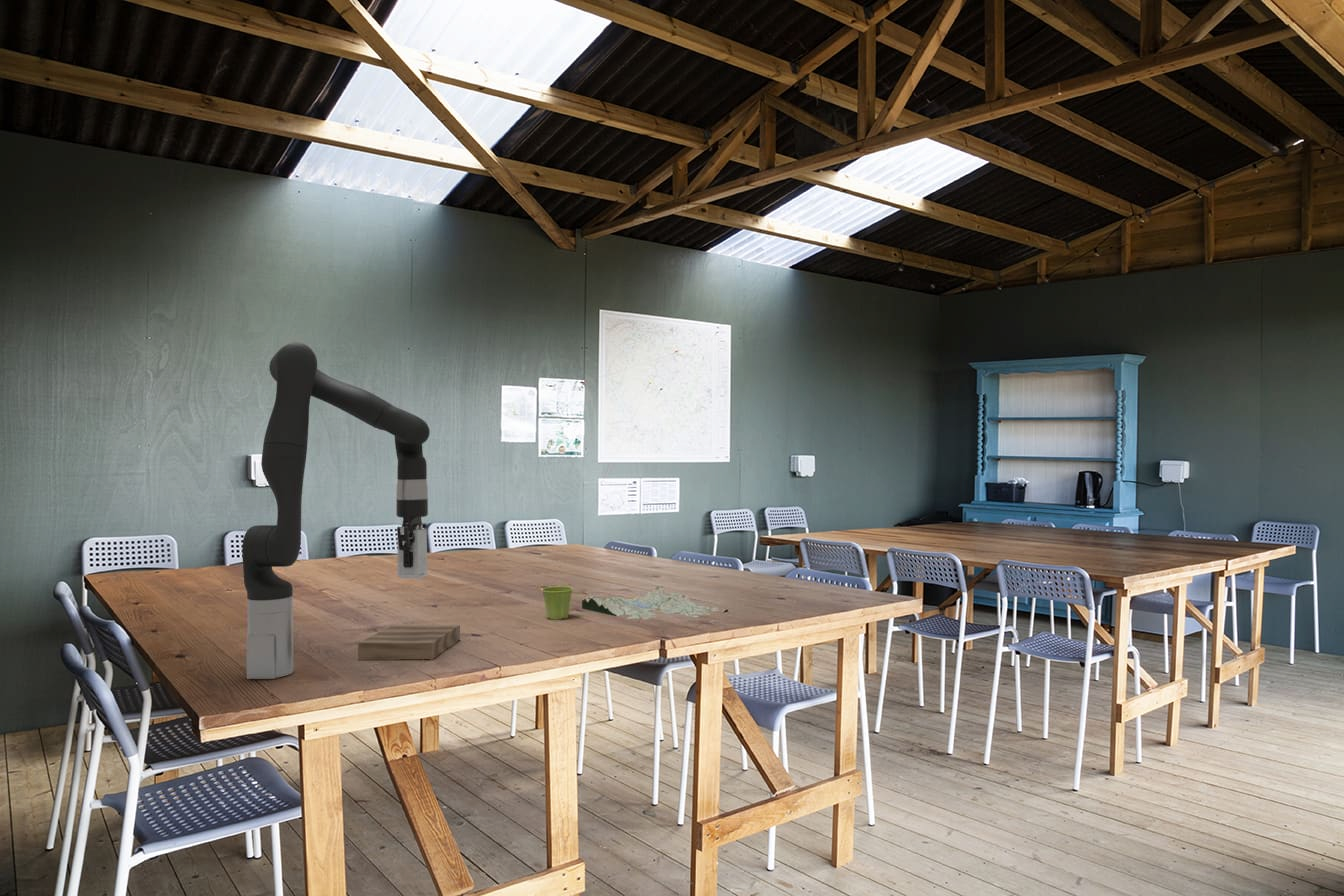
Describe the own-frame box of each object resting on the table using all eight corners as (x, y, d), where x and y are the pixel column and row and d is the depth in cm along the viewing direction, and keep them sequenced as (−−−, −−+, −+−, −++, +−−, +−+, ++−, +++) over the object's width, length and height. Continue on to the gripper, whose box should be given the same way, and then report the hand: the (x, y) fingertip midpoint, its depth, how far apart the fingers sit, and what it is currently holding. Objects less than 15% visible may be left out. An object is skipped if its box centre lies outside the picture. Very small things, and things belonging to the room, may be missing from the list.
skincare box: (427, 576, 220) (427, 528, 221) (418, 578, 216) (418, 530, 217) (406, 576, 222) (406, 528, 222) (396, 578, 218) (396, 529, 218)
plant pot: (571, 620, 255) (571, 591, 255) (539, 621, 256) (538, 591, 256) (575, 615, 265) (575, 586, 265) (544, 615, 265) (544, 586, 265)
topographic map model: (728, 614, 267) (728, 597, 267) (652, 627, 248) (652, 609, 248) (654, 599, 295) (654, 584, 295) (581, 610, 276) (581, 594, 276)
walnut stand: (432, 659, 208) (432, 643, 208) (358, 659, 209) (357, 643, 209) (460, 640, 230) (459, 624, 230) (392, 640, 231) (392, 625, 231)
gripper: (416, 498, 212) (416, 569, 212) (436, 496, 226) (436, 562, 226) (386, 499, 213) (386, 569, 212) (408, 496, 227) (408, 562, 227)
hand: (412, 565), depth 219 cm, fingers closed on skincare box, 4 cm apart
